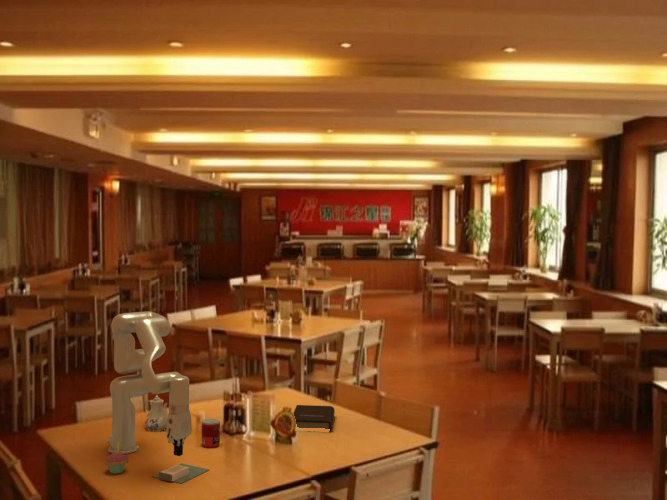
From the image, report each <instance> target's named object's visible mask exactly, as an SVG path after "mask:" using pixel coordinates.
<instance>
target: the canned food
mask: <svg viewBox="0 0 667 500" xmlns="http://www.w3.org/2000/svg"><path fill="white" fill-rule="evenodd" d="M220 442H221V420H220V419H218V418H205V419H203V420H202V421H201V446H202V448H205V449H215V448H218V447H220Z"/></svg>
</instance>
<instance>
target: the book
mask: <svg viewBox="0 0 667 500" xmlns="http://www.w3.org/2000/svg"><path fill="white" fill-rule="evenodd" d="M335 413H336V412H335V408H334V406H332V405H311V404H310V405H309V404H296V406H295V409H294V411H293V413H292V415H293V414H294V416H295V419H296V424H297V427H299V428H325V429H331V430H332V425H333V423H334V418H333V417H334V416H335Z"/></svg>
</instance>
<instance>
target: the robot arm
mask: <svg viewBox="0 0 667 500" xmlns="http://www.w3.org/2000/svg"><path fill="white" fill-rule="evenodd" d="M111 332H112V337H113V341H114V342H113V344H114V346H113V356H114V357H113V360H114V361H113V363H114V364H113V365H114V370H115V372H116V373H117V374H122V375H123V374H129V375H123V376H118V377H115V378H114V379H113V380H112V381H110V384H109V393H110V397H111V411H112V412H111V415H112V416H111V418H112V419H111V421H112V422H111V425H112V426H111V436H108V439H106V443H108V444H110V445H109V446H108V447H107V451H108V453H110V454H114V453H117V442H118V440H119V453H122V454H125V455H126V454H132V453H134V452H137V451H138V450H139V449H140V446H139V445H138V444H137V443H136V407H135V404H134V403H133V402H132V400H131V399H132V398H136V397H137V398H138V397H143V396H146V395H148V394H149V393H150V394H152V395H158V394H159V395H160V394H164V393H168V398H169V399H168V419H167V426H166V438H167V443H168V444H172V445H173V455H174V456H177V457H181V456H183V455H184V453H183V452H184V444H185V441H186V439H187V438H188V437H189V436H191V435H192V432H193V430H192V427H193V425H192V422H193V421H192V414H191V409H190V378H189V377H188V376H186V375H182V374H181V373H180V372H178V371H170V372H162V373H155V371H154V369H153V367H152V366H153V363H152V362H154V361H155V360H157V359H159V358H160V357H161V356H162V355H164V353H165V352H166V350H167V349H166V348H167V347H166V345H165V343H164V341H163V338H162V337H167V336H168V335H169V334H170V332H171V324H170V322H169V320H168V319H167V318H166V317H165V316H163V315H161V314H160V313H156V312H154V311H150V310H149V311H136V312H135V311H134V312H124V313H119V314H117V315H115V316H114V317H113V319H112V321H111ZM133 333H136V337H137V338H138V341H139V344H140V346H141V348H140V349H139V348H138V349H136V340H135V337H134V336H133ZM131 373H136V374H131Z"/></svg>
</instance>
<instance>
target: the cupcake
mask: <svg viewBox="0 0 667 500" xmlns="http://www.w3.org/2000/svg"><path fill="white" fill-rule="evenodd" d="M127 463H129V457H128V456H127V455H126V454H122V453H119V440H118V442H117V453H114V454H113V453H110V454H109V455H107V457H106V459H105V463H104V464H105V465H106V466H107V467H108V469H109V470H108V471H109V472H110V474H115V475H116V474H121V473H123V471H124V469H125V466H126V464H127Z"/></svg>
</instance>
